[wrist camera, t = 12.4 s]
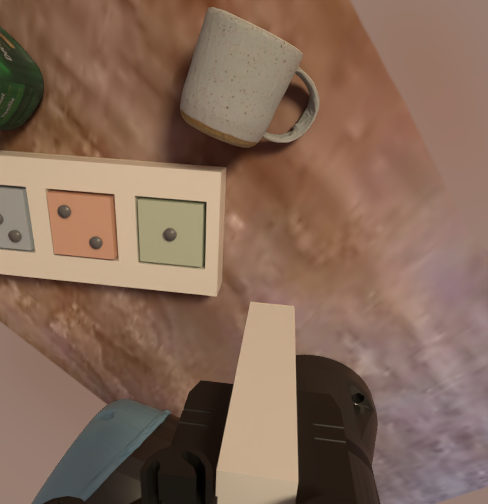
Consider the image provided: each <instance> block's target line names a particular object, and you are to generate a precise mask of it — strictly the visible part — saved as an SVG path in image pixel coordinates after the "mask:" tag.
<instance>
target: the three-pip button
mask: <svg viewBox="0 0 488 504" xmlns="http://www.w3.org/2000/svg"><path fill="white" fill-rule="evenodd" d="M0 248H11V249H21V250H31V251H32V250H33V249H35V246H34V239H33V232H32V226H31V219H30V212H29V205H28V198H27V192H26V187H22V186H10V185H0Z"/></svg>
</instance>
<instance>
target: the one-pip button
mask: <svg viewBox="0 0 488 504" xmlns="http://www.w3.org/2000/svg"><path fill="white" fill-rule="evenodd" d="M206 210H207V202H203V201H191V200H179V199H167V198H155V197H141V198H139V199H138V222H139V245H140V261H144V262H154V263H165V264H175V265H185V266H195V267H202V266H203V264H204V262H205V254H206Z"/></svg>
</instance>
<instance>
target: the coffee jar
mask: <svg viewBox="0 0 488 504" xmlns="http://www.w3.org/2000/svg"><path fill="white" fill-rule="evenodd" d="M43 89H44V82H43V77H42V74H41V71H40V69H39V67H38V66H37V64H36V63H35V62H34V61H33V59H32V58H31V57H30V56H29V54H28V53H27V52H26V51H25V50H24V49H23V48H22V47H21V45H20V44H19V43H18V42H17V41H16V40H15V39H14V38H13V37H12V36H10V35H9V34H8V33H7V32H6V31H5V30H4V29H3V28H1V27H0V130H13V129H16V128H18V127H20V126H21V125H23V124H24V123H25V122H26V121H27V120H28V119H29V118H30V116H31V115H32V114H33V112H34V111H35V110H36V108H37V106H38V104H39V103H40V100H41V98H42V95H43Z"/></svg>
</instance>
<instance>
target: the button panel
mask: <svg viewBox="0 0 488 504" xmlns="http://www.w3.org/2000/svg"><path fill="white" fill-rule="evenodd" d="M0 185H10V186H22V187H26V192H27V198H28V205H29V212H30V219H31V226H32V232H33V239H34V246H35V249H33V250H32V251H31V250H21V249H11V248H0V274H5V275H15V276H24V277H34V278H44V279H53V280H63V281H73V282H82V283H92V284H102V285H111V286H121V287H131V288H140V289H150V290H160V291H169V292H179V293H189V294H198V295H208V296H217V294H218V292H219V289H220V287H221V284H222V266H223V241H224V216H225V191H226V167H218V166H205V165H191V164H178V163H165V162H151V161H138V160H125V159H111V158H98V157H85V156H71V155H58V154H45V153H31V152H18V151H5V150H0ZM56 189H59V190H71V191H83V192H95V193H107V194H114V196H115V211H116V227H117V242H118V257H116V258H115V259H103V258H93V257H83V256H73V255H62V254H54V247H53V239H52V231H51V224H50V216H49V208H48V200H47V192H50V191H53V190H56ZM141 197H155V198H167V199H179V200H191V201H203V202H207V210H206V254H205V262H204V264H203V266H202V267H195V266H185V265H175V264H165V263H154V262H144V261H140V245H139V222H138V199H139V198H141Z"/></svg>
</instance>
